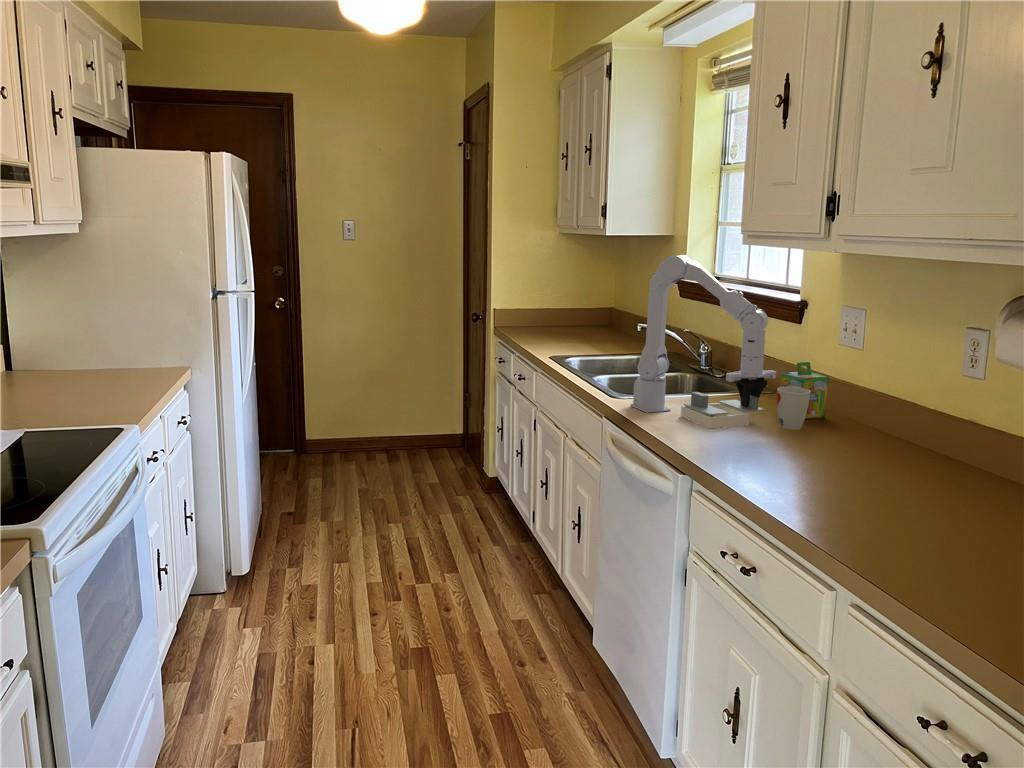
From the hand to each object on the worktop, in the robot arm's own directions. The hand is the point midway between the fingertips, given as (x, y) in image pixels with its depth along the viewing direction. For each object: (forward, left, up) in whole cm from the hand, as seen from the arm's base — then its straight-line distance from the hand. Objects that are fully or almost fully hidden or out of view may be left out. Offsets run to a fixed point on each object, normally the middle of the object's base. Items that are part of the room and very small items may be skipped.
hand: (749, 406), depth 215 cm
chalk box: (-1, +19, -4) cm, 19 cm away
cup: (+9, +7, -4) cm, 12 cm away
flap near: (-4, -11, -1) cm, 12 cm away
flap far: (-3, 0, -1) cm, 4 cm away
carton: (-4, -8, -4) cm, 10 cm away
